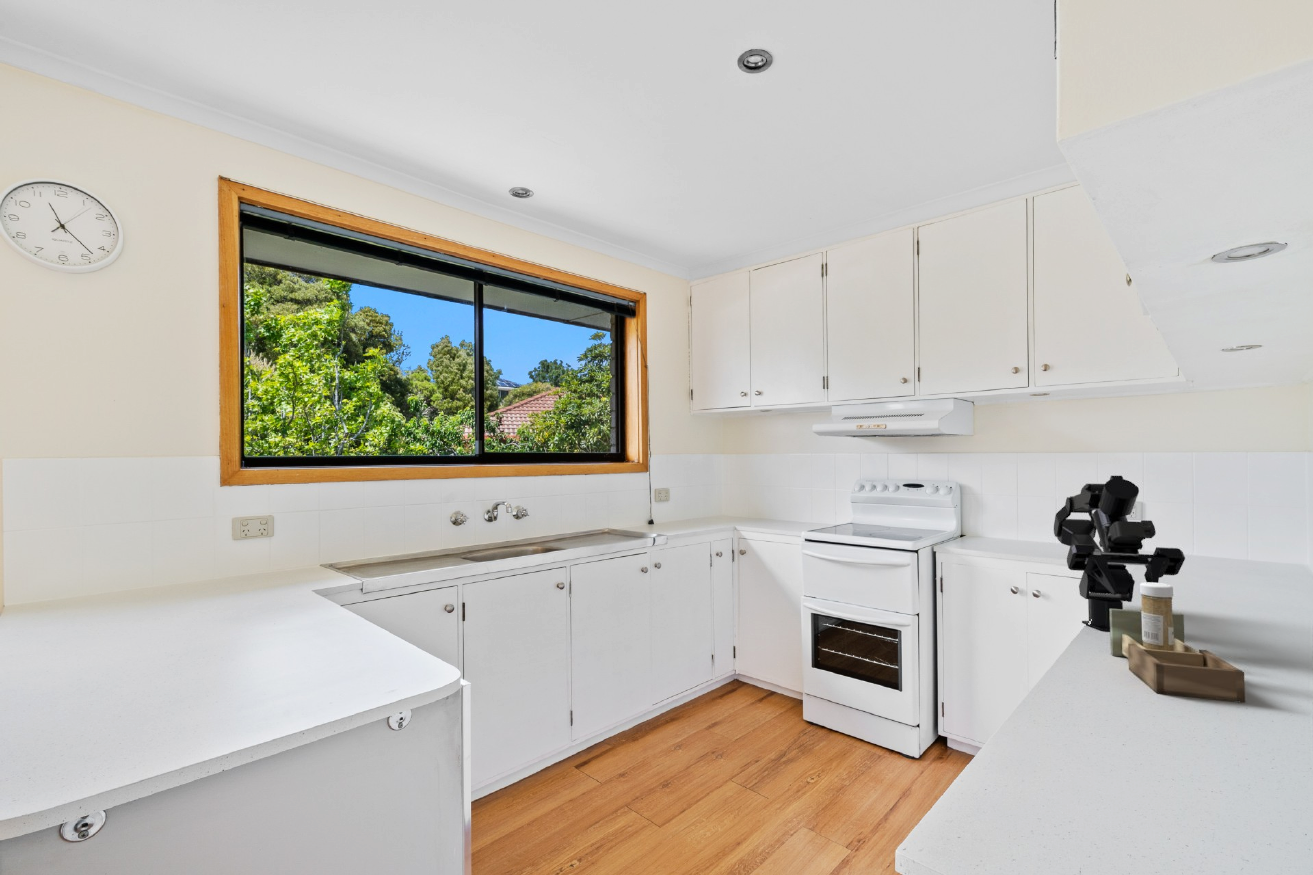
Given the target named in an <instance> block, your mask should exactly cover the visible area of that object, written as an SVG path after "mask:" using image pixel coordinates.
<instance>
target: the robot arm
mask: <svg viewBox="0 0 1313 875" xmlns="http://www.w3.org/2000/svg"><path fill="white" fill-rule="evenodd" d="M1139 493H1140V490H1139V486H1138V485H1136V484H1135V483H1133V482H1132V481H1129V480H1127V479H1124V477H1123V475H1110V477H1109V480H1108V481H1105V483H1085V485H1083V486H1082V488H1081V490H1080V493H1078V494H1076V495H1073V496H1069V497H1066V500H1065V504H1064V505H1063V507H1062V508H1061V509H1059V511H1057V512H1056V513H1055V516H1054V522H1053V535H1054V537H1056V538H1057V540H1058V541H1059V542H1060V543H1061V544H1062V545H1063V546H1064V545H1065V546H1067V547H1069V549H1068V553H1067V555H1066V556H1067V557H1066V564H1067V567H1068V569H1069V570H1071V571H1077V572H1078V571H1081V572H1082V576H1081V579H1080V581H1079V584H1078V588H1079V589H1078V591H1079V596H1080V597H1082V598H1083V599H1085V600H1088V601H1087V605H1088V620H1081V623H1082V624H1083V625H1086V626H1089V627H1091V626H1092V628H1094V629H1096V628H1097V629H1096V630H1100V631H1110V609H1123V610H1124V607H1123V606H1124V605H1123V604H1124V602H1128V603H1131V602H1133V598H1134V597H1133V596H1134V594H1133V593H1134V587H1135V582H1136V581H1135V580H1134V577H1133V574H1131V573H1129V570H1128V568H1126V567H1127V565H1129V566H1130V565H1133V566H1144V567H1145V569H1146V570H1145V572H1144V575H1143V576H1144V579H1145V581H1146V582H1153V583H1159V582H1160V581H1159V580H1160V578H1163V577H1164V576H1176V575H1178V574H1179V572H1180V570H1181V568H1182V566H1183V565H1184V562H1185V561H1186V557H1185V554H1184V552H1183V550H1181V548H1178V547H1162V546H1161V547H1158V546H1156V547H1155V550H1154V552H1153V554H1143V553H1140V552H1139V550H1142V549H1143V547H1144V545H1143V542H1142V541H1143V540H1145V539H1152V538H1154V536H1156V527H1155V524H1154V523H1153V520H1149V519H1148V520H1145V519H1144V520H1141V521H1131V520H1130V521H1129V520H1128V518H1127V516H1130V515H1131V514H1132V512H1133V509H1134V507H1135V503H1136V501H1137V498H1138V496H1139ZM1072 513H1073V514H1074V513H1076V514H1077V513H1080V514H1088V516H1089V517H1090V519H1083V518H1082V519H1080V518H1079V519H1077V518H1076V519H1075V518H1069V517H1070V516H1071V514H1072ZM1096 533H1097V535H1098V537H1099V543H1097V542H1096V540H1095V537H1096ZM1101 548H1102V549H1101ZM1091 619H1092V621H1091ZM1089 621H1091V624H1090V625H1087V624H1088V623H1089Z"/></svg>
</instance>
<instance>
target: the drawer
mask: <svg viewBox="0 0 1313 875" xmlns="http://www.w3.org/2000/svg"><path fill="white" fill-rule="evenodd" d="M1141 611H1142V610H1137V609H1135V610H1134V609H1124V608H1123V609H1110V630H1109V632H1110V633H1109V634H1110V635H1109V636H1110V639H1109V640H1110V641H1109V642H1110V645H1109V646H1110V655H1111V656H1114V657H1125V658H1127V659H1128V660H1129V654H1128V644H1136V645H1137V646H1138V647H1140V648H1141V649H1143V650H1144V651H1145V652H1147V653H1148V654H1149V655H1151V656H1152V657H1154V658H1155V659H1156V660H1158V661H1159V662H1160V663H1166V664H1177V665H1188V666H1200V667H1204V664H1203V654H1201V653H1199V650H1196V649H1194V648H1193V647H1192V646H1189V645H1188V644H1186V643H1185V642H1186V641H1185V616H1184V613H1183V614H1182V613H1180V612H1179V613H1178V612H1172V618H1173V631H1174V651H1164V650H1152V649H1146V648H1144V647H1143V640H1142V613H1141Z"/></svg>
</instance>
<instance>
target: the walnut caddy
mask: <svg viewBox="0 0 1313 875" xmlns="http://www.w3.org/2000/svg"><path fill="white" fill-rule="evenodd" d="M1198 652H1199V653H1201V654H1203V664H1204V667H1200V666H1188V665H1177V664H1166V663H1160V662H1159V661H1158V660H1156V659H1155V658H1154V657H1152V656H1151V655H1149V654H1148V653H1147V652H1145V651H1144V650H1143V649H1141V648H1140V647H1138V646H1137V645H1136V644H1128V654H1129V659H1128V670H1129V671H1130V672H1131V673H1132V674H1133V675H1134V676H1136V677H1137V678H1138V679H1139V680H1140V681H1141V682H1143V683H1144V684H1145V685H1146V686H1147V687H1149V688H1150V689H1151V690H1152V691H1153V692H1154V693H1156V694H1159V695H1166V696H1167V695H1171V696H1177V697H1178V696H1179V697H1189V698H1199V699H1206V700H1208V699H1209V700H1217V701H1225V700H1226V702H1234V701H1238V702H1237V703H1244V702H1245V703H1246V691H1245V690H1246V688H1245V683H1246V682H1245V671H1242V670H1241V669H1240V668H1238V667H1236V666H1234V665H1233V664H1231V663H1229V662H1228V661H1226V660H1224V659H1222V658H1221V657H1219V656H1217V655H1216V654H1214V653H1212V652H1211V651H1209V650H1207V649H1201V648H1200V649H1198ZM1239 701H1240V702H1239Z"/></svg>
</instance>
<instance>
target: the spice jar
mask: <svg viewBox="0 0 1313 875" xmlns="http://www.w3.org/2000/svg"><path fill="white" fill-rule="evenodd" d="M1139 594H1140V596H1141V610H1140V611H1141V613H1142V640H1143V647H1144V648H1146V649H1152V650H1164V651H1174V631H1173V618H1172V613H1173V597H1174V587H1173V585H1171V584H1167V583H1160V582H1158V583H1153V582H1140V584H1139Z"/></svg>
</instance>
